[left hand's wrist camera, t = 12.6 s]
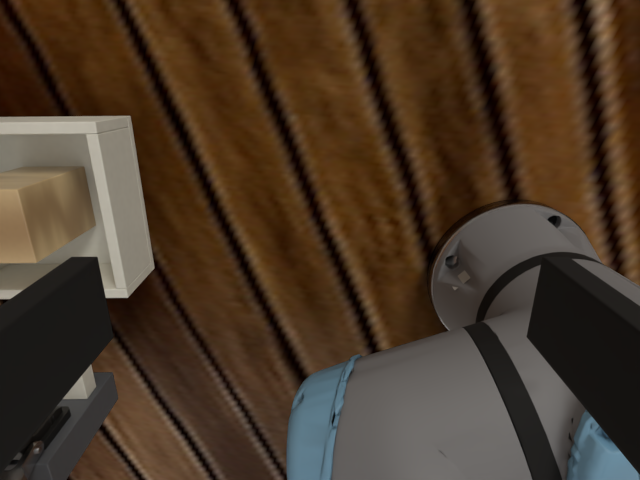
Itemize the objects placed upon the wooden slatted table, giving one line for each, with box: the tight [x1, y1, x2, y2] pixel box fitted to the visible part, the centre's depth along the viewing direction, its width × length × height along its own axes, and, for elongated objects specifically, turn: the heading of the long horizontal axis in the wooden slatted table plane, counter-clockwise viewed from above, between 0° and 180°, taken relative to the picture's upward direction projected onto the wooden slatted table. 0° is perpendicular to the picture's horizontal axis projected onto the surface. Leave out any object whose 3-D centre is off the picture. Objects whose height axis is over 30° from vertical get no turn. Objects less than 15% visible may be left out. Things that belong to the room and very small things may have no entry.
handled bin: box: [0, 116, 155, 480], centre depth 31 cm, size 26×13×12 cm, turn 0°
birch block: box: [0, 166, 96, 263], centre depth 30 cm, size 5×5×8 cm
